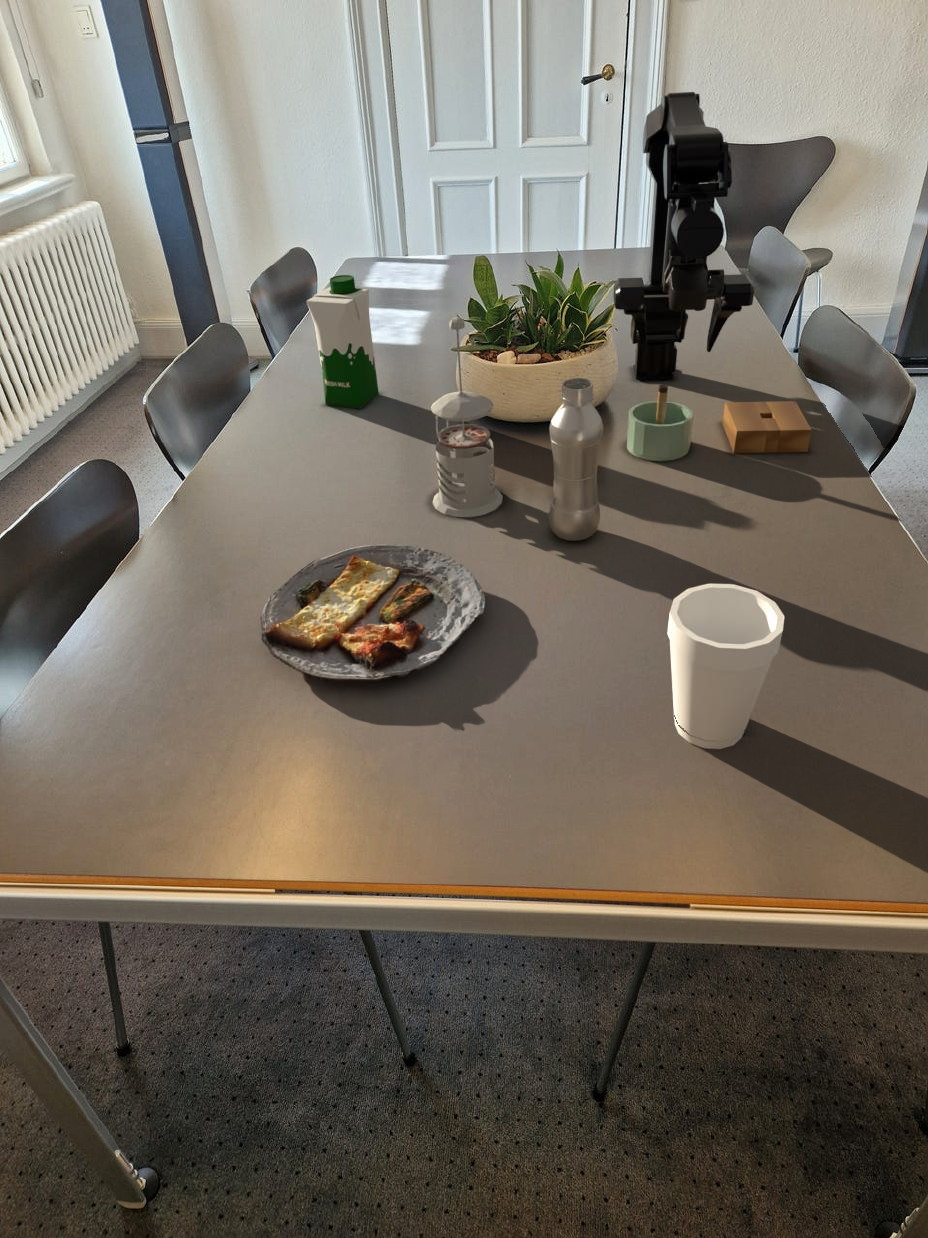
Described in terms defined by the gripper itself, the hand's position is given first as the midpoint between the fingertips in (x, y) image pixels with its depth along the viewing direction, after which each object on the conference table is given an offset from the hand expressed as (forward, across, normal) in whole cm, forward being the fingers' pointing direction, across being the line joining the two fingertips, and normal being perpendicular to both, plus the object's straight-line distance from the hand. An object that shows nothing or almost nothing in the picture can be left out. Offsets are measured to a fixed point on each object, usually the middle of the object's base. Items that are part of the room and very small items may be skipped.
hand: (676, 351), depth 124 cm
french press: (+12, -30, -21) cm, 39 cm away
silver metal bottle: (+12, -15, -31) cm, 36 cm away
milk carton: (+13, -53, +15) cm, 57 cm away
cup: (+12, -2, -6) cm, 14 cm away
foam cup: (+12, -3, -66) cm, 67 cm away
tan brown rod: (+12, -2, -6) cm, 13 cm away
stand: (+13, +14, -2) cm, 19 cm away
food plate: (+12, -38, -50) cm, 64 cm away
